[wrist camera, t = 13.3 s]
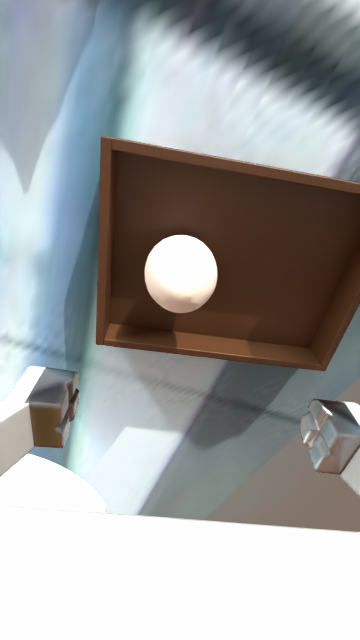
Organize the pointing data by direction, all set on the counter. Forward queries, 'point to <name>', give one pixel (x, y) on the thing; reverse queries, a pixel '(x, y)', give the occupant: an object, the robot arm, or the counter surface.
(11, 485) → the plate stack
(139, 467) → the counter surface
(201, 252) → the egg
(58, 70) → the counter surface
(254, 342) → the tray
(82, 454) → the counter surface
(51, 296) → the counter surface
